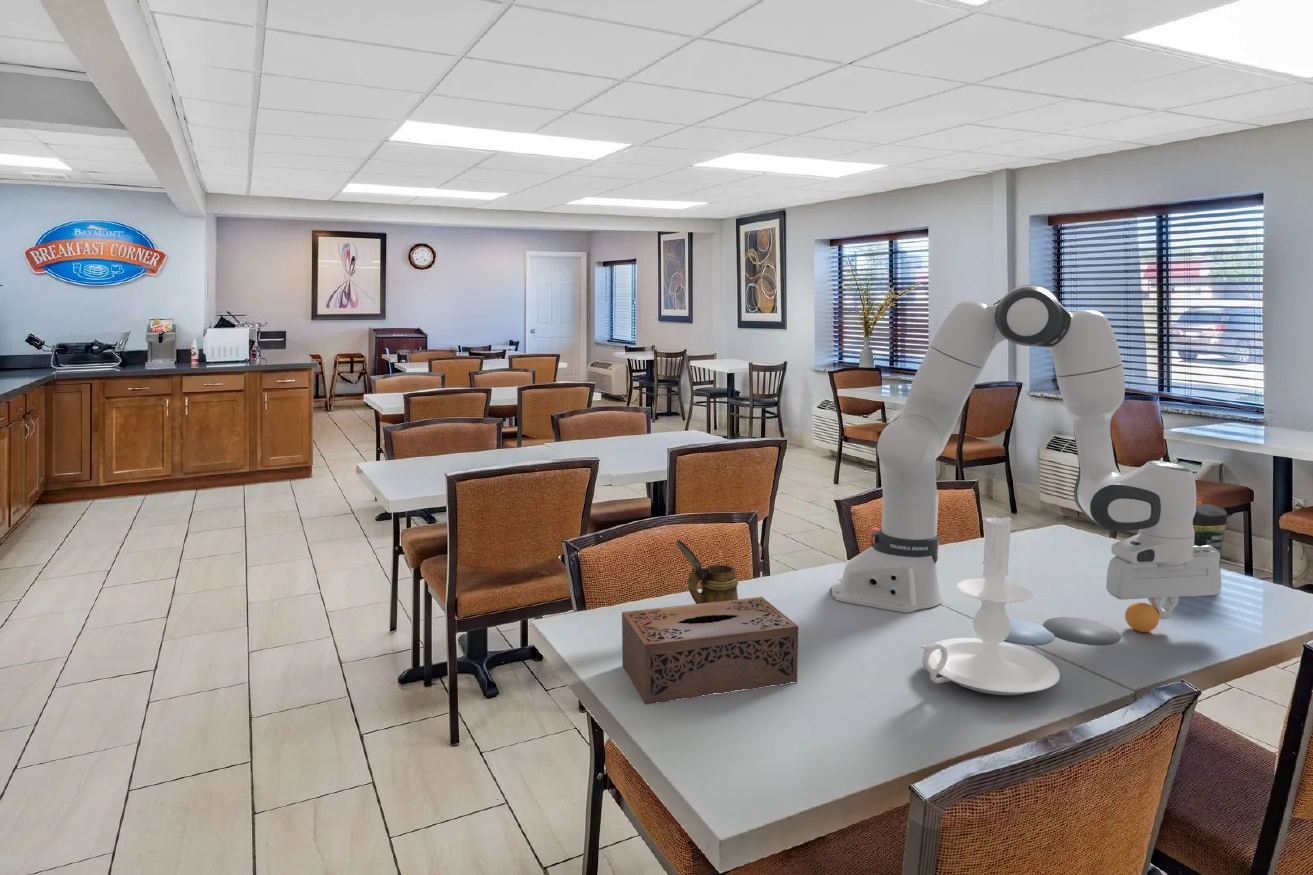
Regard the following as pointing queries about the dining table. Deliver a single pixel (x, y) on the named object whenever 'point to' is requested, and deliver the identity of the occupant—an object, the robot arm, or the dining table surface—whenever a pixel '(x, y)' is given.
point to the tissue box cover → (708, 648)
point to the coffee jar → (1209, 526)
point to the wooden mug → (710, 580)
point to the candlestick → (991, 632)
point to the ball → (1142, 617)
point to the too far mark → (1028, 633)
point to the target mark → (1082, 630)
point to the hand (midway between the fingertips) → (1162, 618)
